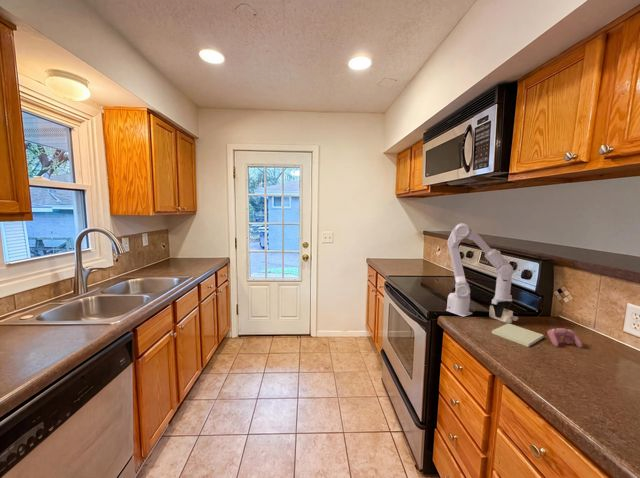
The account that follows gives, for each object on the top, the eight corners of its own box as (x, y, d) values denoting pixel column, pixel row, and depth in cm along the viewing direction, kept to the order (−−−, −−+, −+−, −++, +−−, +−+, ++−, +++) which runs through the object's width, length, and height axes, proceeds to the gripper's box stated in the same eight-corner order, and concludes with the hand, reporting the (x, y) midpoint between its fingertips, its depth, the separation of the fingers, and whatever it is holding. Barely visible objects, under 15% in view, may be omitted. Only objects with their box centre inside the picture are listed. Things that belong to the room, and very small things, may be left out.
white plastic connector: (487, 316, 133) (488, 306, 133) (491, 314, 135) (492, 305, 135) (514, 325, 124) (515, 314, 123) (518, 323, 125) (519, 312, 125)
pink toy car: (575, 347, 108) (570, 328, 110) (584, 348, 103) (579, 328, 106) (547, 346, 109) (544, 327, 111) (556, 346, 104) (552, 327, 107)
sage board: (491, 333, 115) (491, 330, 115) (507, 325, 123) (508, 323, 123) (528, 346, 105) (528, 343, 104) (543, 337, 112) (543, 334, 112)
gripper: (504, 292, 121) (502, 322, 123) (520, 287, 129) (517, 315, 131) (488, 288, 127) (485, 317, 129) (503, 284, 135) (500, 311, 136)
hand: (500, 316), depth 130 cm, fingers closed on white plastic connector, 4 cm apart
